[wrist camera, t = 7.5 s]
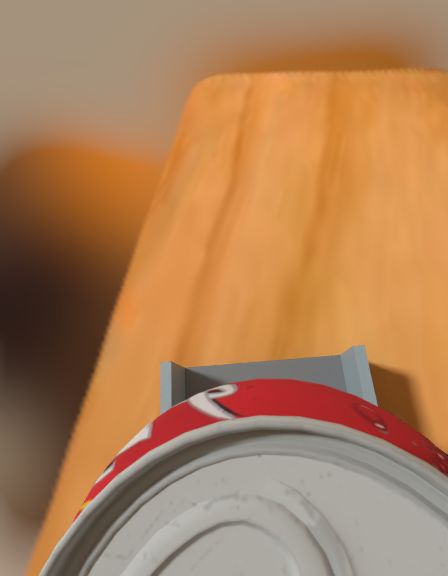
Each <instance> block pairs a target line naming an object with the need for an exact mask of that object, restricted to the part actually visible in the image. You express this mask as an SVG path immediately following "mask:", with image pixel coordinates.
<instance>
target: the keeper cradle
mask: <svg viewBox="0 0 448 576" xmlns="http://www.w3.org/2000/svg"><path fill="white" fill-rule="evenodd" d="M254 379H293V380H299V381H305V382H311V383H317V384H323V385H326V386H329V387H332V388H335V389H338V390H341V391H344V392H347V393H350V394H353V395H356V396H358V397H360V398H362V399H364V400H366V401H368V402H370V403H372V404H374V405H376V406H378V404H377V400H376V395H375V391H374V386H373V382H372V377H371V373H370V368H369V364H368V359H367V354H366V350H365V345H361V346H352V347H351V348H350V349H348V350H347V351H345V352H344V353H343V354H341V355H335V356H323V357H311V358H299V359H287V360H274V361H262V362H250V363H238V364H226V365H214V366H201V367H189V368H184V367H182V366H180V365H178V364H175V363H173V362H161V415H162V414H163V413H164V412H166V411H167V410H169V409H170V408H171V407H173V406H175V405H177V404H179V403H181V402H183V401H185V400H187V399H188V398H190V397H192V396H194V395H196V394H198V393H200V392H204V391H207V390H210V389H213V388H216V387H219V386H222V385H225V384H228V383H234V382H241V381H247V380H254Z"/></svg>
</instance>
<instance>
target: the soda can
mask: <svg viewBox="0 0 448 576" xmlns="http://www.w3.org/2000/svg"><path fill="white" fill-rule="evenodd" d="M39 576H448V456H447V455H445V454H444V453H443V452H442V451H441V450H440V449H439V448H438V447H436V446H435V445H434V444H433V443H432V442H431V441H430V440H429V439H427V438H426V437H424V436H423V435H422V434H420V433H419V432H417V431H416V430H414V429H413V428H411V427H410V426H408V425H407V424H406V423H404V422H403V421H401V420H400V419H398V418H397V417H395V416H394V415H392V414H391V413H390V412H388V411H386V410H384V409H382V408H380V407H378V406H376V405H374V404H372V403H370V402H368V401H366V400H364V399H362V398H360V397H358V396H356V395H353V394H350V393H347V392H344V391H341V390H338V389H335V388H332V387H329V386H326V385H323V384H317V383H311V382H305V381H299V380H293V379H254V380H247V381H241V382H234V383H228V384H225V385H222V386H219V387H216V388H213V389H210V390H207V391H204V392H200V393H198V394H196V395H194V396H192V397H190V398H188V399H187V400H185V401H183V402H181V403H179V404H177V405H175V406H173V407H171V408H170V409H169V410H167V411H166V412H164V413H163V414H162V415H160V416H159V417H158V418H156V419H155V420H153V421H152V422H151V423H149V424H148V425H147V426H145V427H144V428H143V429H142V430H141V431H140V432H139V433H138V434H137V435H136V436H135V437H134V438H133V439H132V440H131V441H130V442H129V443H128V444H127V445H126V446H125V447H124V448H123V449H122V450H121V451H120V452H119V453H118V454H117V455H116V456H115V458H114V459H113V460H112V462H111V463H110V464H109V465H108V467H107V468H106V469H105V471H104V472H103V473H102V475H101V476H100V477H99V479H98V480H97V481H96V482H95V484H94V486H93V487H92V489H91V491H90V493H89V494H88V496H87V498H86V499H85V501H84V503H83V505H82V506H81V508H80V510H79V512H78V513H77V515H76V517H75V519H74V521H73V524H72V525H71V526H70V528H69V529H68V530H67V532H66V533H65V534H64V536H63V537H62V538H61V540H60V541H59V542H58V544H57V545H56V546H55V548H54V550H53V552H52V553H51V555H50V557H49V559H48V560H47V562H46V564H45V565H44V567H43V569H42V571H41V572H40V574H39Z"/></svg>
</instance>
